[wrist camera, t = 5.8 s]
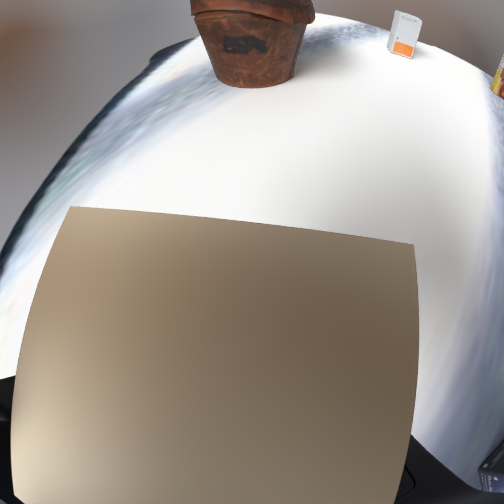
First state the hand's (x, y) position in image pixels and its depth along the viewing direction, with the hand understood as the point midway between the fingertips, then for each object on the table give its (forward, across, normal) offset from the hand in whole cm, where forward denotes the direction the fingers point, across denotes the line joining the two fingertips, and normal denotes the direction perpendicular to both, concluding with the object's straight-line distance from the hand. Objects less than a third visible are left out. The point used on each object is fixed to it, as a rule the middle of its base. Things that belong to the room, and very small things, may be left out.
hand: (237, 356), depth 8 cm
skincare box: (+58, -26, -39) cm, 75 cm away
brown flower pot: (+40, +6, -21) cm, 46 cm away
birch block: (+4, 0, +6) cm, 7 cm away
